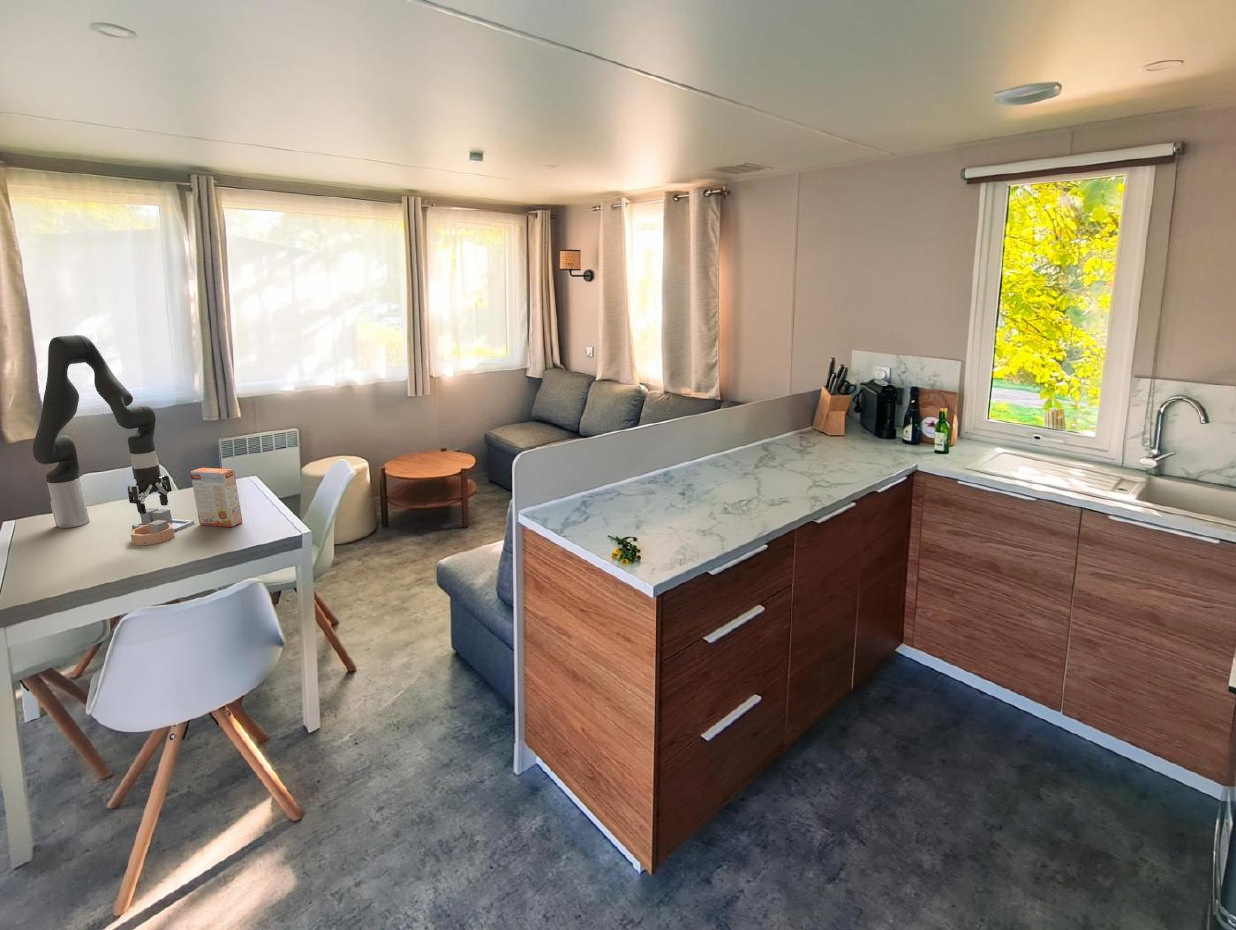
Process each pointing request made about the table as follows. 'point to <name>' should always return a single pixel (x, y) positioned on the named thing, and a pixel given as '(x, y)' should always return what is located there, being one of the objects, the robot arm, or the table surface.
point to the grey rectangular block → (157, 526)
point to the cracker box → (216, 497)
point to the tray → (176, 524)
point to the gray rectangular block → (162, 515)
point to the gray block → (147, 516)
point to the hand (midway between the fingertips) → (153, 509)
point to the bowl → (151, 535)
